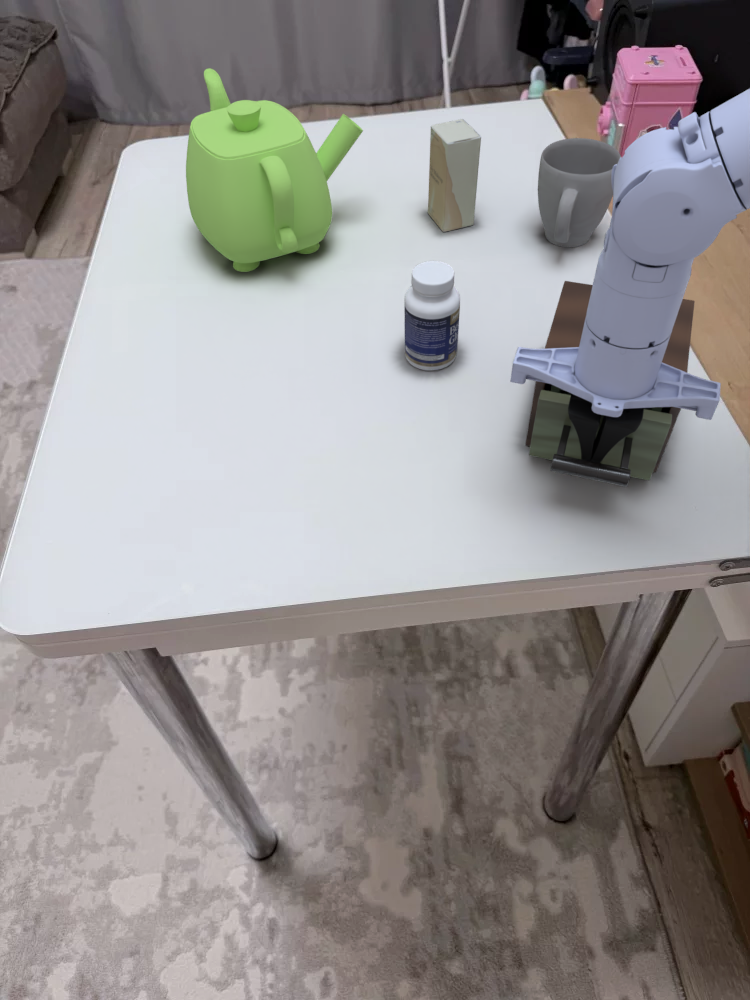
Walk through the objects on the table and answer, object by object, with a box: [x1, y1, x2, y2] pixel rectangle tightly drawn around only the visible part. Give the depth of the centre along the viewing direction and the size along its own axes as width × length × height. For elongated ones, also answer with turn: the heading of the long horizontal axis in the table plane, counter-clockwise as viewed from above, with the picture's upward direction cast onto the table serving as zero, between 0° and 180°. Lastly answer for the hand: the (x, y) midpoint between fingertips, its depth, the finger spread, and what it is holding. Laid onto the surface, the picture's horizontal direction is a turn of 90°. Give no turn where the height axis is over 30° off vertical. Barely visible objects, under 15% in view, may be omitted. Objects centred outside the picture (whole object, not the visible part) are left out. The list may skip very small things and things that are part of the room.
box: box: [427, 118, 482, 233], centre depth 88 cm, size 5×4×11 cm
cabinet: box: [524, 280, 695, 473], centre depth 67 cm, size 14×12×9 cm
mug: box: [537, 137, 622, 248], centre depth 85 cm, size 12×9×10 cm
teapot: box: [185, 67, 364, 273], centre depth 87 cm, size 25×22×16 cm
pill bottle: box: [403, 260, 461, 371], centre depth 72 cm, size 5×5×10 cm
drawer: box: [528, 385, 672, 488], centre depth 64 cm, size 17×10×7 cm, turn 161°
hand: (590, 458), depth 61 cm, fingers closed
